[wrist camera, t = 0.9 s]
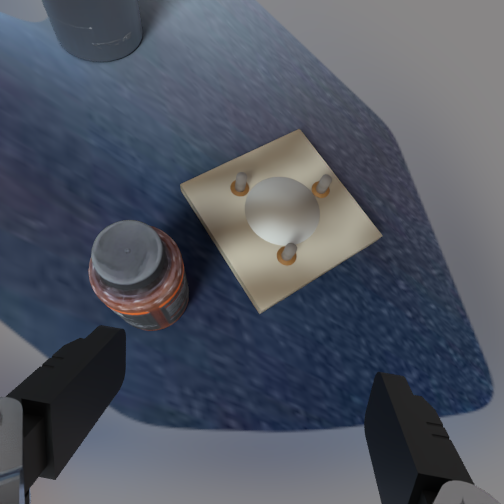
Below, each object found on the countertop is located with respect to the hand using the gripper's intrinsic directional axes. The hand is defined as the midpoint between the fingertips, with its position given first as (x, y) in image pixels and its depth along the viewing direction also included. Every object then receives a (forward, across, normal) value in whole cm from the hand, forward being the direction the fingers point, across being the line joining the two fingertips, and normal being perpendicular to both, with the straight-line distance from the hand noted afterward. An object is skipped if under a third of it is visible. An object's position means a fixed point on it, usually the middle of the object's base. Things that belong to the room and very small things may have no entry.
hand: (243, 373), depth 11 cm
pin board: (+25, 0, 0) cm, 25 cm away
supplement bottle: (+18, +10, +7) cm, 21 cm away
